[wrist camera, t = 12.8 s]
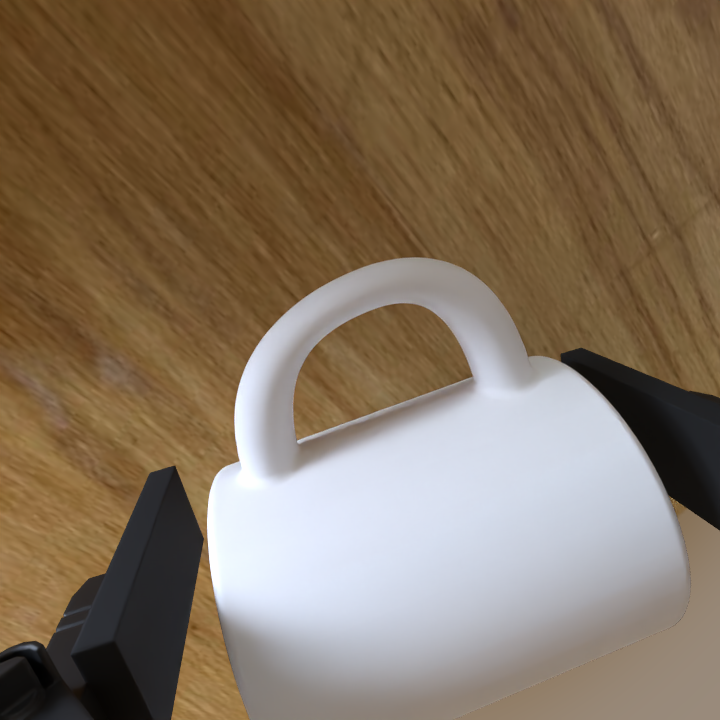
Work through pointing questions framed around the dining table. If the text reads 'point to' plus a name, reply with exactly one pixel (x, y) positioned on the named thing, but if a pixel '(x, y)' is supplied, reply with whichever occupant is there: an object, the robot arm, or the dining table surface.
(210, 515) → the mug
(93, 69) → the dining table surface
